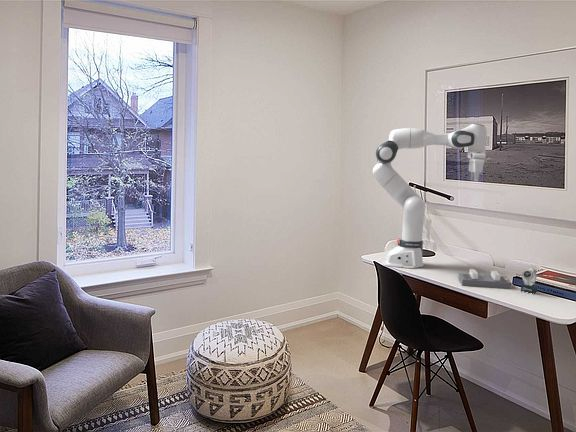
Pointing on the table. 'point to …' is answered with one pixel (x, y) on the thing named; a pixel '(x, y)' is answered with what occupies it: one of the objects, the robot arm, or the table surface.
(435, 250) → the table surface
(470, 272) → the left switch
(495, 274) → the right switch
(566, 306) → the table surface
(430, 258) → the table surface
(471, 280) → the power strip
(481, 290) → the table surface
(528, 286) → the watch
